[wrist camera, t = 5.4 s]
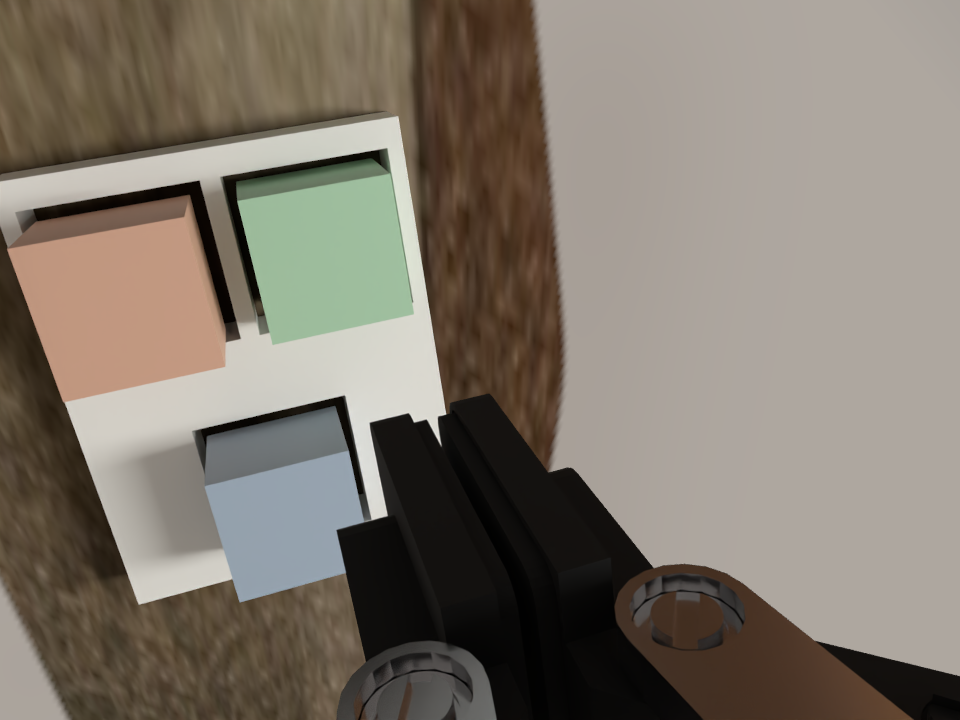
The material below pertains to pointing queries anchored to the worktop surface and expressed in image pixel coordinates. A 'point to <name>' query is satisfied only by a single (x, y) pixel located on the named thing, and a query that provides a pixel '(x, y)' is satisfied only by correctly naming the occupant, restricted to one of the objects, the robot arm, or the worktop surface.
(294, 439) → the slate key
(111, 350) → the terracotta key
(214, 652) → the worktop surface
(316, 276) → the sage key
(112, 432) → the key console
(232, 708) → the worktop surface
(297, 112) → the worktop surface
